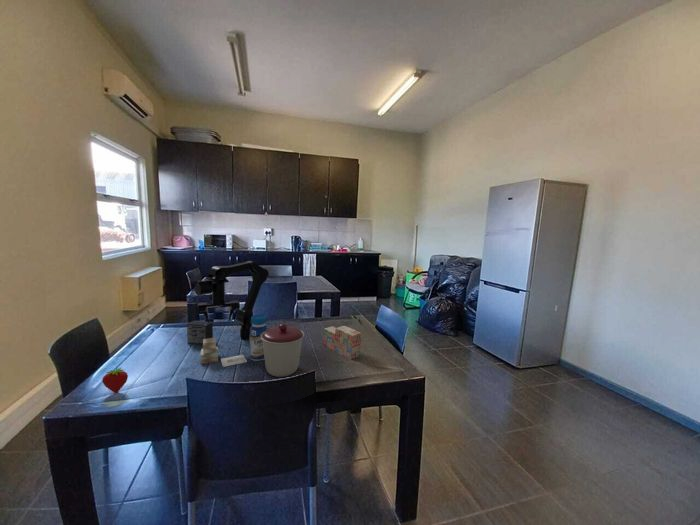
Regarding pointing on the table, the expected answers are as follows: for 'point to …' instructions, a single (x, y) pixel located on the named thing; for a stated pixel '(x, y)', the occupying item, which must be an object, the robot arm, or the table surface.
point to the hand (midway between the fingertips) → (219, 322)
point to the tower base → (209, 357)
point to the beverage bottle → (257, 337)
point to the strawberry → (115, 379)
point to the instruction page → (233, 360)
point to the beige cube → (209, 345)
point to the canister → (282, 349)
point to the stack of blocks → (343, 340)
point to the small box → (199, 331)
